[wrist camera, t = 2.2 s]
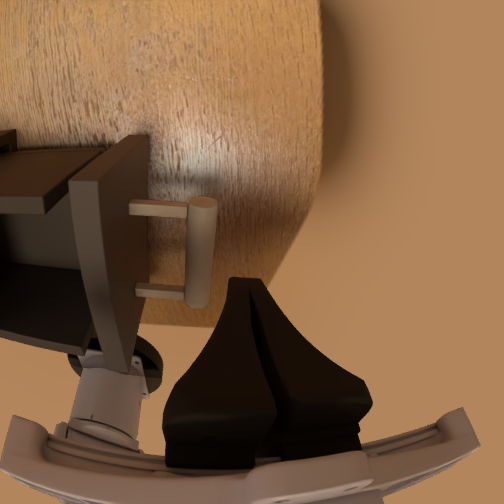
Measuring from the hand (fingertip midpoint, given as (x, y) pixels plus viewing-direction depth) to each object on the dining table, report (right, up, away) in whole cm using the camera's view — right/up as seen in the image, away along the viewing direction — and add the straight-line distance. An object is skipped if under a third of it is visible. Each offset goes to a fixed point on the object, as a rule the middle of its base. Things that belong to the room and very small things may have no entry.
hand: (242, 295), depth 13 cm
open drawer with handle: (-11, +4, +4) cm, 12 cm away
